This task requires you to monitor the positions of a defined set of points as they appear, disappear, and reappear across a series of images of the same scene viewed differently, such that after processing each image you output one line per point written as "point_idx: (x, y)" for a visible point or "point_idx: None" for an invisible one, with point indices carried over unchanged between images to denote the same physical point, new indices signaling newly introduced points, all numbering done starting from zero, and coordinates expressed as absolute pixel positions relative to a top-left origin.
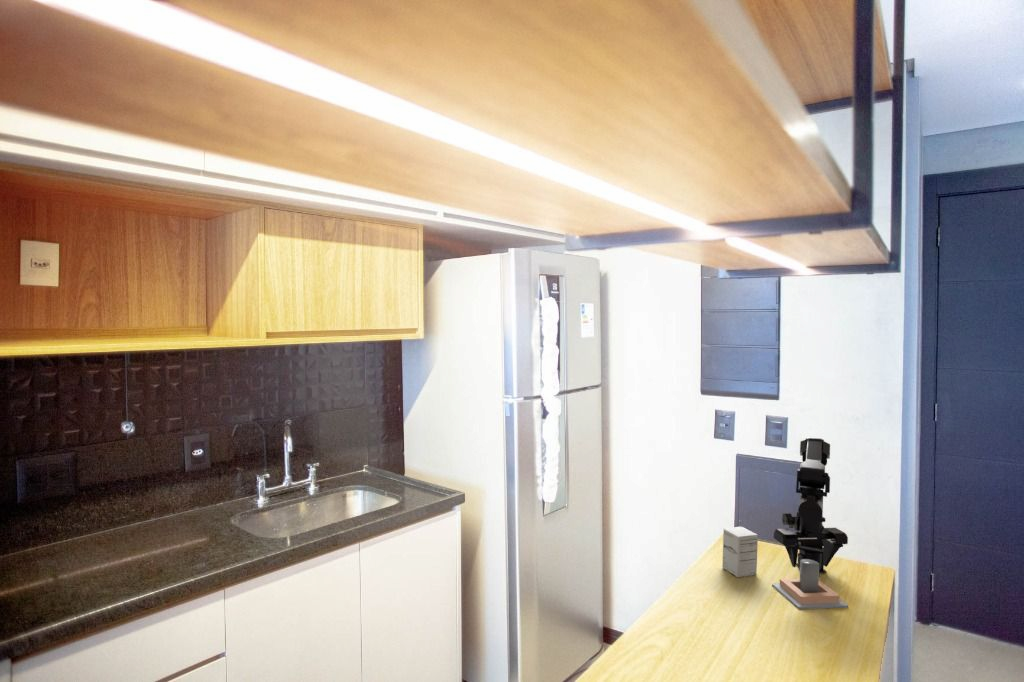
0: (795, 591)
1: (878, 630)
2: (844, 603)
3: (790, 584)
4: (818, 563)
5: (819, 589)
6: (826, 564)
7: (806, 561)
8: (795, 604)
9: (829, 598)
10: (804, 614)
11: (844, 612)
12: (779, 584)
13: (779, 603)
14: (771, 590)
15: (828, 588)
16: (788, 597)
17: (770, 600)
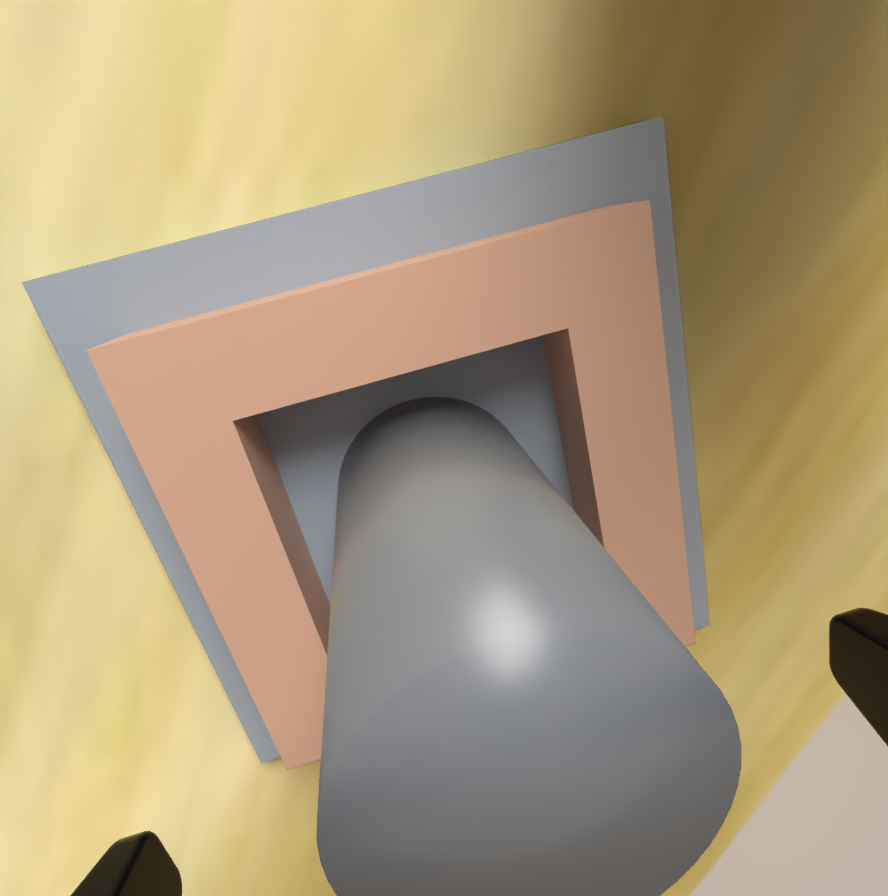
0: (250, 673)
1: (723, 852)
2: (695, 600)
3: (222, 504)
4: (721, 800)
5: (572, 440)
6: (880, 727)
7: (480, 777)
8: (242, 721)
9: None
10: (294, 807)
11: None
12: (128, 294)
13: (99, 693)
14: (27, 425)
15: (661, 506)
16: (194, 615)
17: (9, 659)
